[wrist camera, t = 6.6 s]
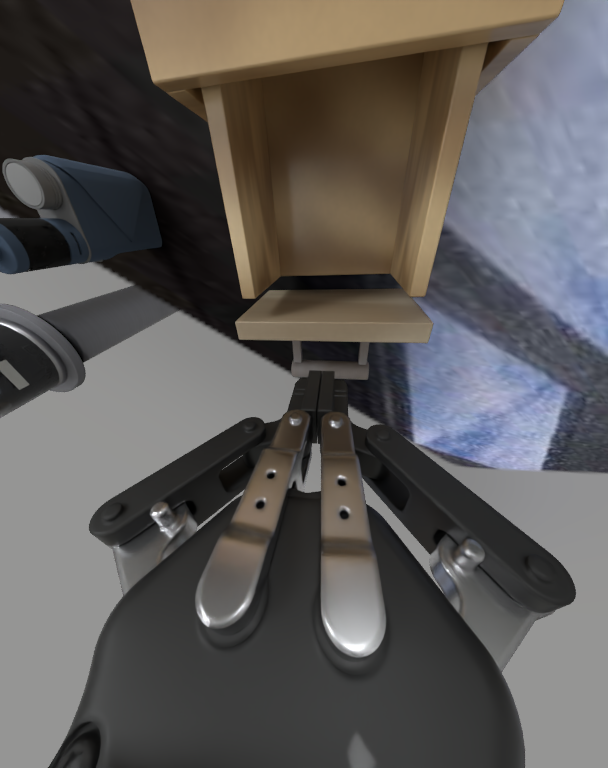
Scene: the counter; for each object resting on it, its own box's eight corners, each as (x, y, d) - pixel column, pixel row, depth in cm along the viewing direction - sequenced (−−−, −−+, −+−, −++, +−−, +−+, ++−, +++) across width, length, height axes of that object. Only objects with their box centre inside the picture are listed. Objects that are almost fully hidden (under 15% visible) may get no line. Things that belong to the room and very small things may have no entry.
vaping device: (140, 250, 21) (-38, 277, 11) (116, 172, 18) (-160, 115, 8) (167, 253, 21) (9, 282, 11) (147, 174, 17) (-97, 119, 8)
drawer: (392, 351, 22) (410, 403, 16) (276, 348, 24) (251, 395, 17) (461, -7, 11) (618, -311, 5) (236, 36, 13) (127, -147, 6)
